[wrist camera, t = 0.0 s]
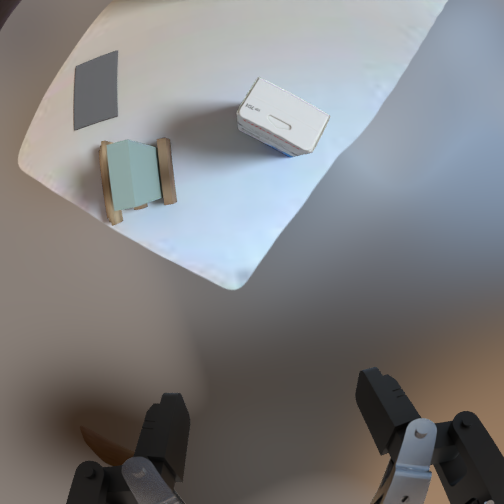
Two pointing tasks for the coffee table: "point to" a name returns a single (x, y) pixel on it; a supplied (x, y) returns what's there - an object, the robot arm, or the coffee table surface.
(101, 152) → the wooden bar
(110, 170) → the grey-green rectangular block
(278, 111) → the ink box
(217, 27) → the coffee table surface
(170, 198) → the walnut slot block
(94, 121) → the rubber mat
